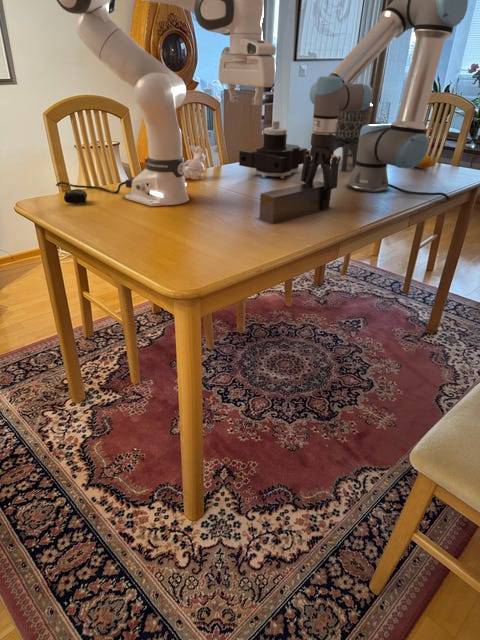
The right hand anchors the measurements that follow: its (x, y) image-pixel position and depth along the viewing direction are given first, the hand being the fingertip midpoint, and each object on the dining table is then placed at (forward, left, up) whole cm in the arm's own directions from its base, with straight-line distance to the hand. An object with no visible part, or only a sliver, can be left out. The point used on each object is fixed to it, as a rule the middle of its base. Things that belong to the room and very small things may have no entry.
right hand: (316, 206), depth 152 cm
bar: (+7, +7, 0) cm, 10 cm away
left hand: (+24, +9, +32) cm, 41 cm away
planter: (-17, -68, 0) cm, 70 cm away
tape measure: (+80, +6, 0) cm, 80 cm away
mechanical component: (+12, -50, 0) cm, 52 cm away
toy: (-54, -75, 0) cm, 92 cm away
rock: (-29, -101, 0) cm, 105 cm away
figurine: (+48, -35, 0) cm, 59 cm away
